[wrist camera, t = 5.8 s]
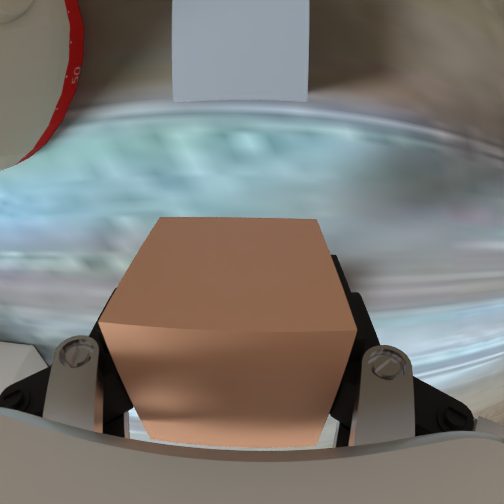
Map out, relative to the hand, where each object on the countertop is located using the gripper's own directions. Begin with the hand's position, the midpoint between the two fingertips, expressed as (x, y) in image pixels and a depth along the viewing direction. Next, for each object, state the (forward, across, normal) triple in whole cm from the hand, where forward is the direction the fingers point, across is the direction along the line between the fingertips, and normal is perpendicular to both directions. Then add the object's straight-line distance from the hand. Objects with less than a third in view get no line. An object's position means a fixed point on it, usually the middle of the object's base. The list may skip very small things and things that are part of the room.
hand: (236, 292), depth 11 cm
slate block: (+8, 0, -9) cm, 12 cm away
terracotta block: (+1, 0, 0) cm, 1 cm away
